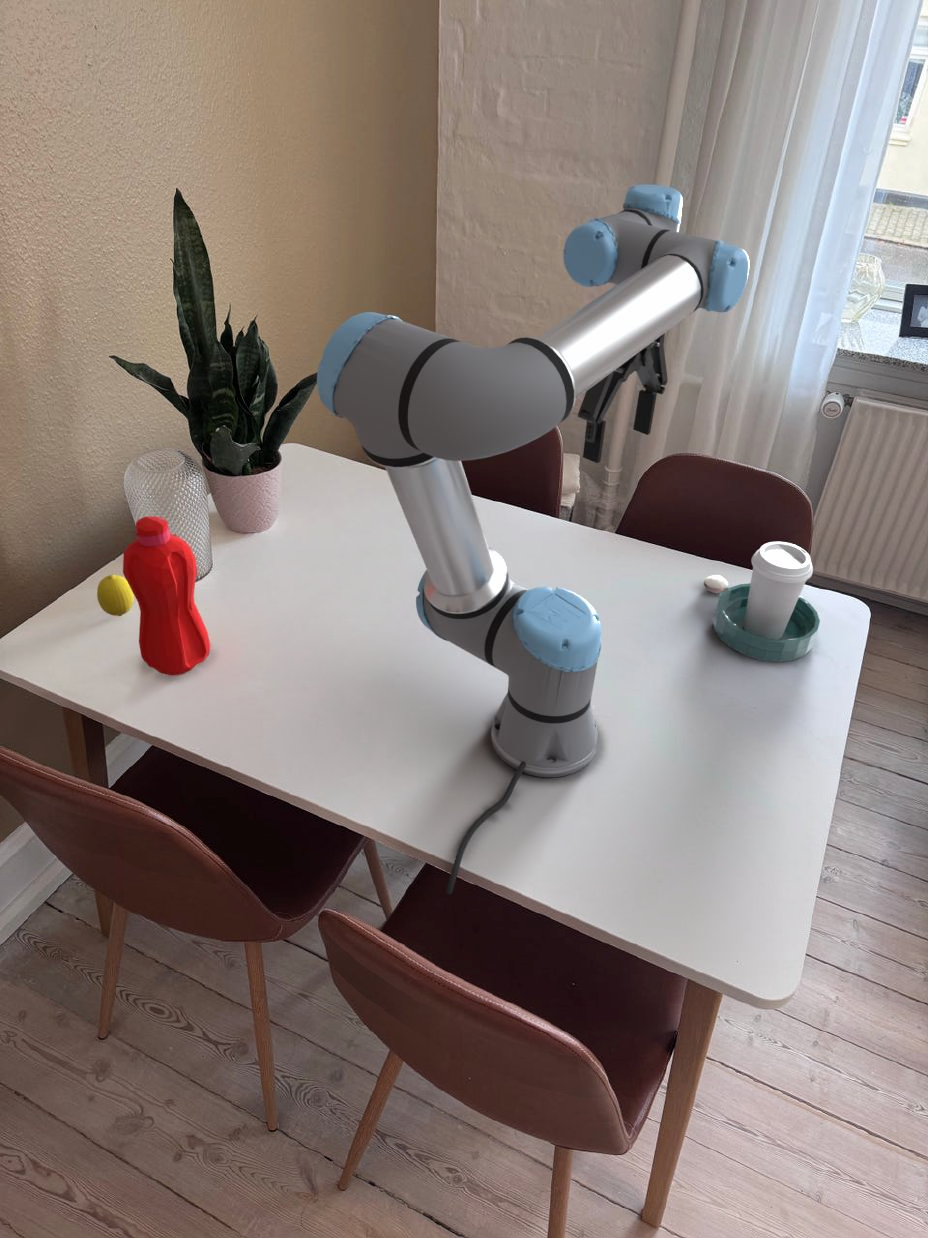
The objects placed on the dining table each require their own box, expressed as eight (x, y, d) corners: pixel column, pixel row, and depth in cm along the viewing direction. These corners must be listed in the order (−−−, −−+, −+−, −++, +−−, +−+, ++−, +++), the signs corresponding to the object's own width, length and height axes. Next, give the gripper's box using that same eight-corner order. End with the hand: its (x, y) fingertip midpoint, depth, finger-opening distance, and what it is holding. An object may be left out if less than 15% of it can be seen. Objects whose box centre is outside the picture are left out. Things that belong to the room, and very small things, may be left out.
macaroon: (701, 593, 165) (704, 581, 164) (704, 578, 169) (707, 566, 168) (725, 598, 164) (728, 586, 163) (728, 583, 168) (731, 571, 166)
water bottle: (228, 648, 148) (208, 513, 133) (175, 685, 140) (147, 546, 125) (187, 627, 152) (163, 493, 137) (134, 662, 144) (102, 524, 129)
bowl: (784, 677, 147) (791, 655, 145) (694, 633, 156) (699, 611, 153) (828, 632, 157) (836, 611, 155) (741, 593, 166) (747, 572, 163)
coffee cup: (799, 648, 152) (823, 573, 143) (741, 645, 152) (762, 570, 143) (784, 613, 160) (806, 540, 151) (729, 611, 160) (748, 537, 151)
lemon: (142, 607, 156) (134, 567, 151) (129, 626, 151) (120, 586, 147) (110, 604, 156) (101, 564, 151) (96, 623, 152) (86, 583, 147)
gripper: (662, 281, 139) (641, 413, 152) (562, 320, 124) (548, 463, 137) (706, 294, 135) (680, 428, 148) (609, 335, 120) (589, 481, 133)
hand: (617, 445), depth 142 cm, fingers open, 13 cm apart
